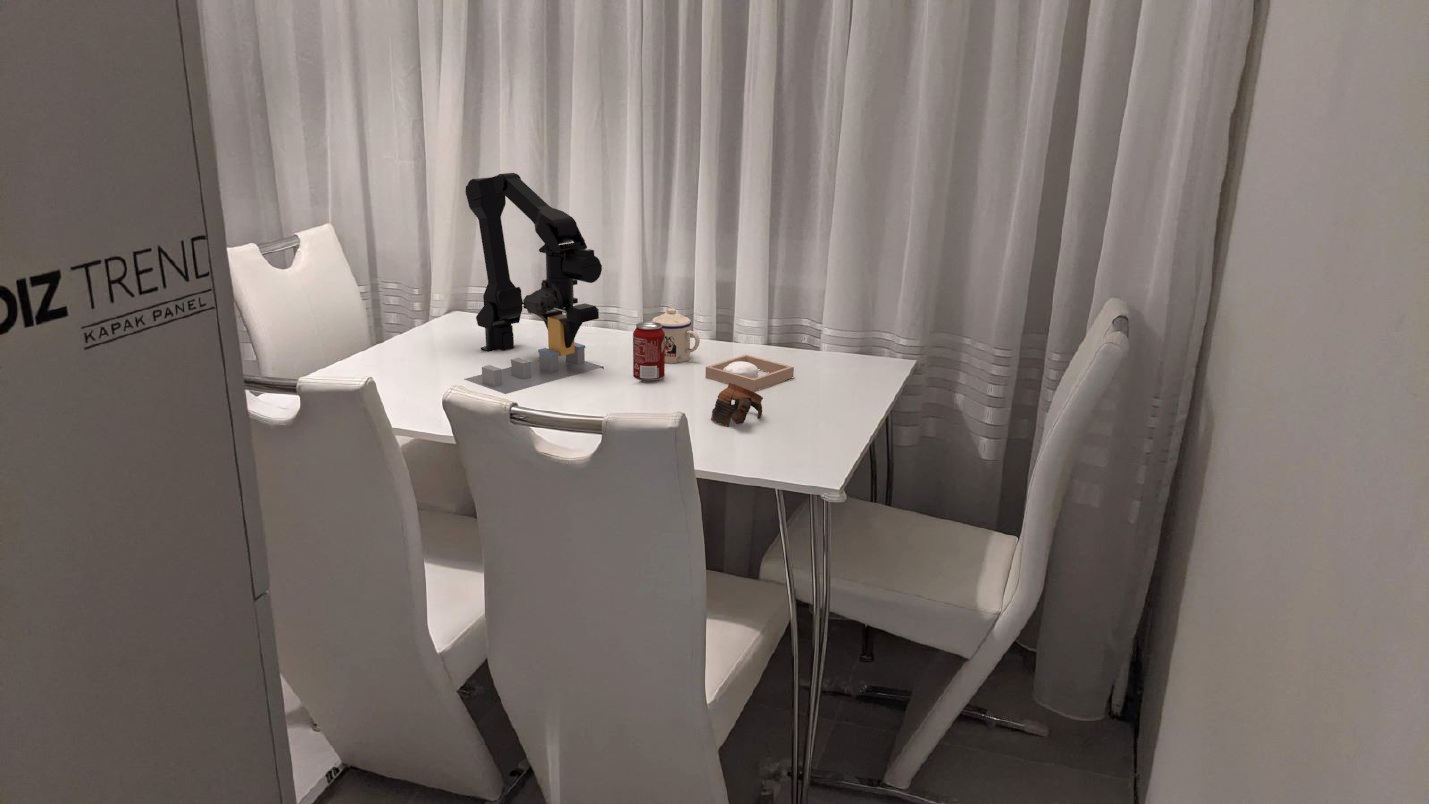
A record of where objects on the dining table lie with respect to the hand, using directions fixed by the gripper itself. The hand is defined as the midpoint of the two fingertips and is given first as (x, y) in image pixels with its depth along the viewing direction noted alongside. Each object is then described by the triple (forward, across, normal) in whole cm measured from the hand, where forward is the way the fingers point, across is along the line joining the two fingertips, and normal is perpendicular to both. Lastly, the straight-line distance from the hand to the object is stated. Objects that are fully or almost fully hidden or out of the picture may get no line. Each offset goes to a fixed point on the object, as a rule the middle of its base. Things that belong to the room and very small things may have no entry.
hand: (561, 345), depth 233 cm
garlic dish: (+6, +33, +25) cm, 42 cm away
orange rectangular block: (+2, 0, 0) cm, 2 cm away
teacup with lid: (+6, +12, +24) cm, 27 cm away
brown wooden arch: (+6, +49, +2) cm, 50 cm away
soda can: (+6, +18, +9) cm, 21 cm away
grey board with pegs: (+6, 0, -8) cm, 9 cm away
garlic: (+6, +32, +23) cm, 40 cm away
